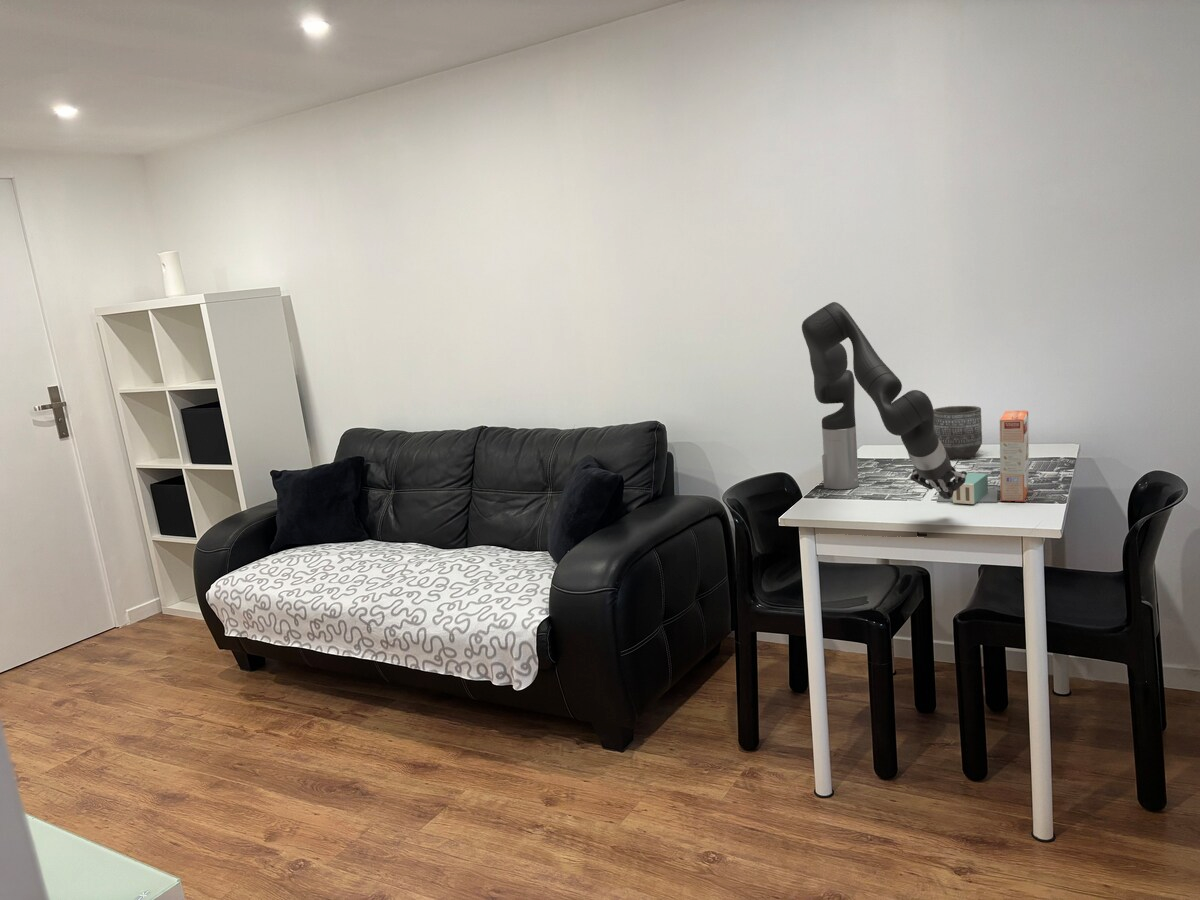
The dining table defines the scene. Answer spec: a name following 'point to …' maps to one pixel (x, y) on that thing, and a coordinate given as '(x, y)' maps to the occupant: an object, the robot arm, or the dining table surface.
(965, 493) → the teal block
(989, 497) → the grey mat
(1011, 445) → the cracker box
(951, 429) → the planter
